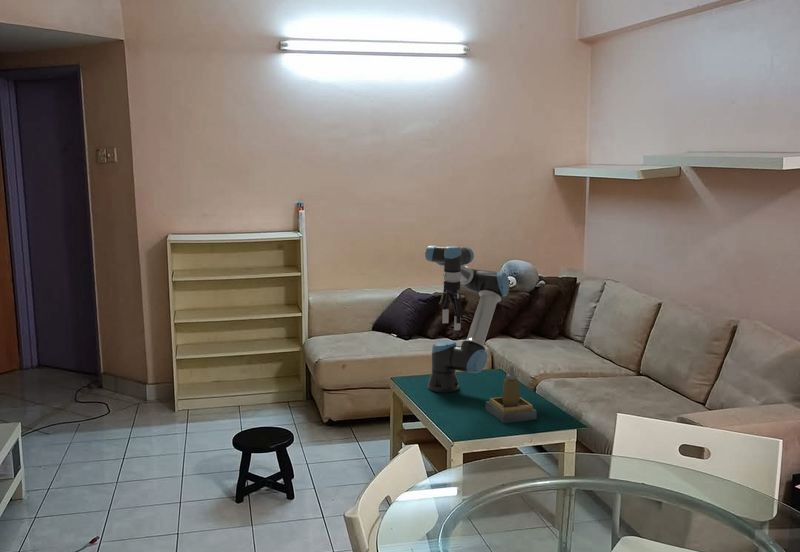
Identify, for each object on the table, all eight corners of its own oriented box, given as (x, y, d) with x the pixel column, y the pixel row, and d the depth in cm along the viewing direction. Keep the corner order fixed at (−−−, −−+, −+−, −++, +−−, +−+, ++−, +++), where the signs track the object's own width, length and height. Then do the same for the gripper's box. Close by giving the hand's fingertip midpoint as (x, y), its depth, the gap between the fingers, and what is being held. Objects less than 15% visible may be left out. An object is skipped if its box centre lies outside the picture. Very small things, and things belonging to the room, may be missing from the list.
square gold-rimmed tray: (485, 409, 356) (485, 397, 355) (516, 406, 361) (517, 393, 360) (503, 423, 339) (503, 410, 338) (536, 419, 344) (536, 406, 343)
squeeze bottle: (519, 409, 345) (520, 370, 341) (500, 408, 346) (501, 368, 343) (520, 403, 352) (521, 364, 349) (502, 402, 354) (503, 363, 351)
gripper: (433, 276, 364) (433, 320, 367) (455, 286, 341) (454, 333, 344) (448, 275, 366) (448, 319, 370) (471, 285, 343) (470, 332, 347)
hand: (451, 326), depth 357 cm, fingers open, 13 cm apart
